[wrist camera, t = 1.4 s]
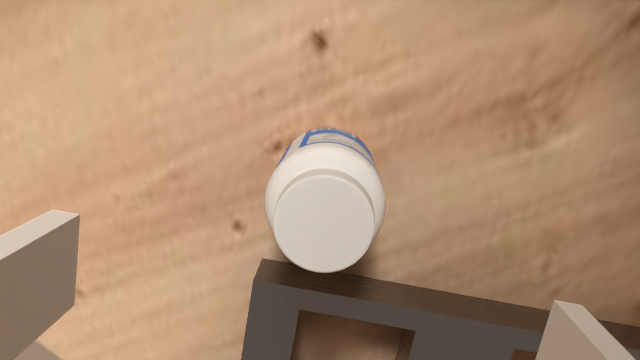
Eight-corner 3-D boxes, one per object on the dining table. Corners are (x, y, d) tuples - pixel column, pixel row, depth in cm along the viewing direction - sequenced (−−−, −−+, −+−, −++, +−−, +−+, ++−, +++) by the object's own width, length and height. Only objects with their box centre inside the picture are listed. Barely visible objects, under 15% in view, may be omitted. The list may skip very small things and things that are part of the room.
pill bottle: (320, 234, 30) (308, 316, 20) (262, 163, 29) (221, 215, 19) (395, 179, 29) (420, 239, 19) (337, 105, 28) (333, 128, 18)
